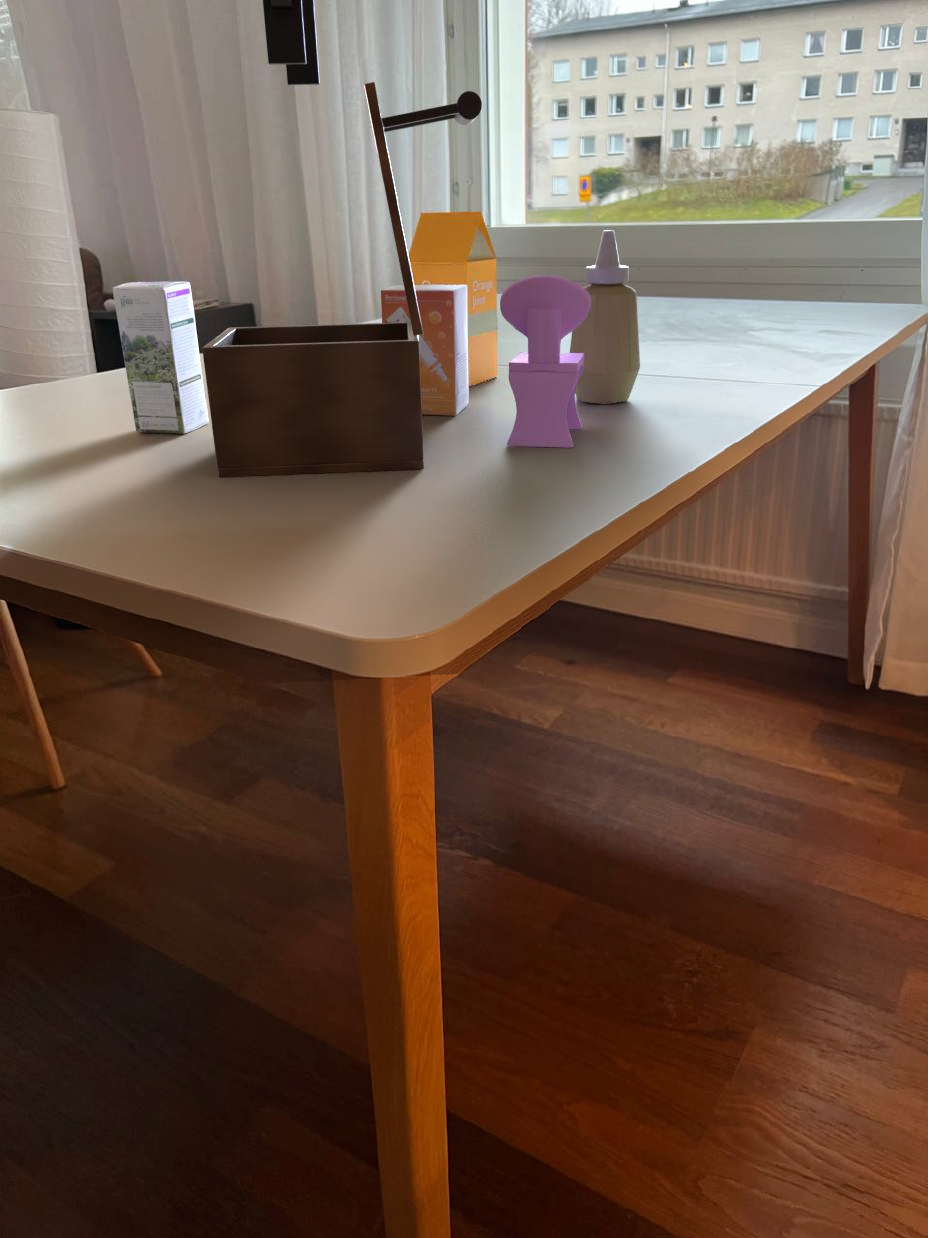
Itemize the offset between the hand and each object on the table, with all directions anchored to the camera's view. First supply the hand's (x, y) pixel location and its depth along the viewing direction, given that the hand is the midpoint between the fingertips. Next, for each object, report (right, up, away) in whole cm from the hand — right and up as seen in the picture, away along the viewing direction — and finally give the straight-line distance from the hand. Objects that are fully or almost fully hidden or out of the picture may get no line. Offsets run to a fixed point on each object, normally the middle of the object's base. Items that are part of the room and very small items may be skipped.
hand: (296, 75), depth 76 cm
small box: (+9, -20, +30) cm, 38 cm away
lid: (+7, -9, +4) cm, 12 cm away
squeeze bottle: (+29, -19, +33) cm, 48 cm away
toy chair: (+21, -26, +17) cm, 38 cm away
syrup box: (-17, -23, +24) cm, 38 cm away
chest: (+1, -28, +12) cm, 31 cm away
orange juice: (+12, -12, +48) cm, 51 cm away
